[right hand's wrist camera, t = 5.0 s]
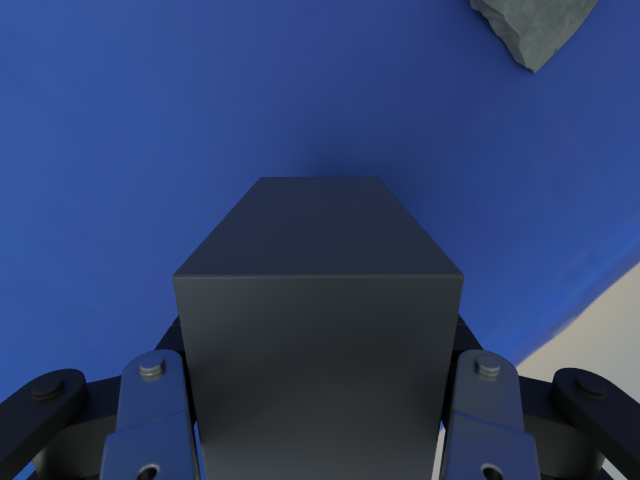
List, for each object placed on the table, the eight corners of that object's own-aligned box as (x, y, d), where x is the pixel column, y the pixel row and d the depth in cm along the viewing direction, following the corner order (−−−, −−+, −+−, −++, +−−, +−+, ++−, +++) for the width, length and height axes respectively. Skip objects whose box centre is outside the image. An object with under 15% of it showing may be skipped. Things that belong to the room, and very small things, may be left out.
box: (260, 176, 17) (170, 275, 7) (378, 176, 17) (466, 274, 7) (279, 483, 24) (250, 745, 14) (360, 483, 24) (389, 745, 14)
